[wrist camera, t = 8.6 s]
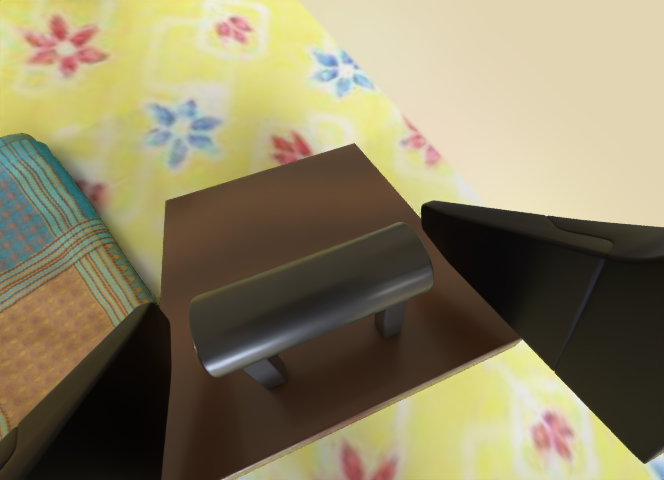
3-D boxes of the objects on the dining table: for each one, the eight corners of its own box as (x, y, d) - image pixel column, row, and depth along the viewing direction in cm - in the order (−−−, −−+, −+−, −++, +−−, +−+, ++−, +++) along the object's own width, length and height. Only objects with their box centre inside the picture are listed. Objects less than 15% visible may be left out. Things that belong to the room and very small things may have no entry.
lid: (516, 346, 9) (625, 243, 5) (165, 512, 8) (-74, 550, 4) (355, 153, 18) (350, 58, 14) (172, 210, 16) (105, 120, 12)
